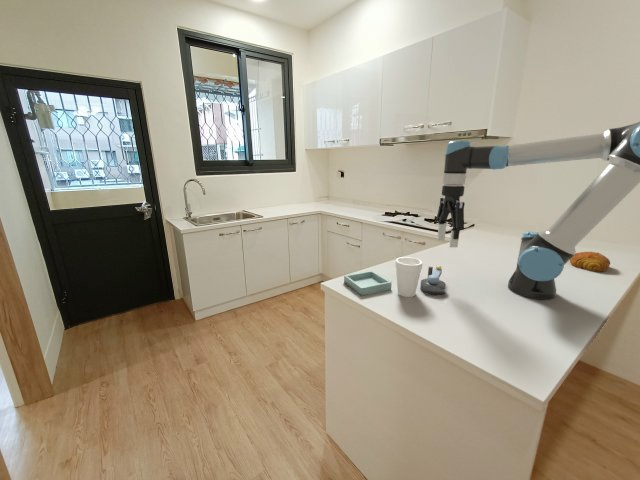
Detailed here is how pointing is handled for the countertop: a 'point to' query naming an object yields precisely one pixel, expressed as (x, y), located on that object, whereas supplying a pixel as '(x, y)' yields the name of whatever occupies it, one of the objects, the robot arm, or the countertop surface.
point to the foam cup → (408, 275)
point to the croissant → (590, 261)
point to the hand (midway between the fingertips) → (446, 243)
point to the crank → (435, 276)
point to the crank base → (432, 286)
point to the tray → (367, 282)
